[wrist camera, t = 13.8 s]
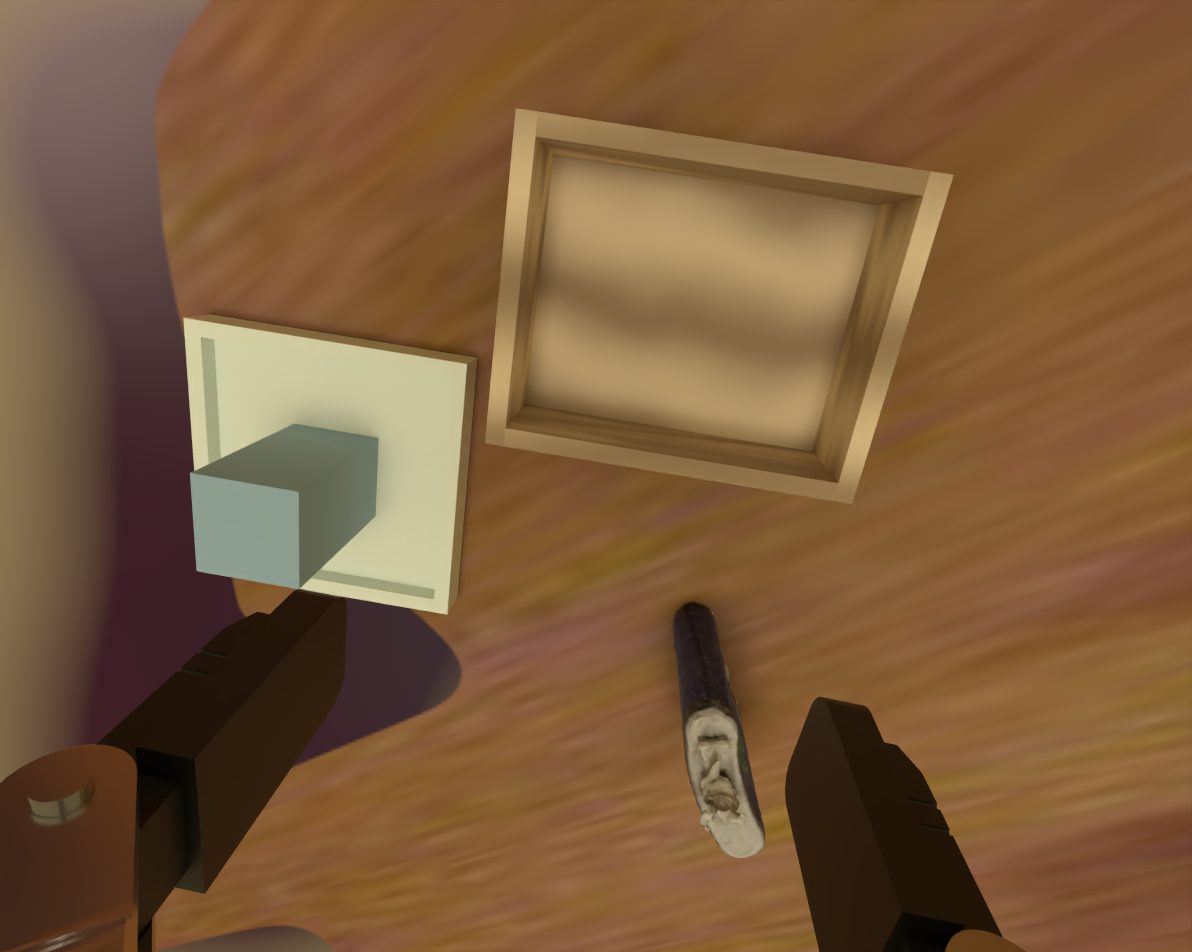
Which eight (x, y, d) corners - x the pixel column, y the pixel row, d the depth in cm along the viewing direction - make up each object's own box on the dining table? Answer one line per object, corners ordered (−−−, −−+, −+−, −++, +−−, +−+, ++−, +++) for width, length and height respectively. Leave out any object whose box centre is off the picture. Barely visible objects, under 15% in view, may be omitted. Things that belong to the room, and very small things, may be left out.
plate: (210, 314, 33) (183, 317, 31) (477, 357, 32) (466, 364, 30) (224, 556, 37) (201, 572, 35) (457, 596, 37) (447, 614, 35)
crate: (544, 139, 29) (515, 108, 23) (887, 192, 28) (953, 175, 22) (515, 408, 33) (484, 443, 27) (813, 457, 33) (851, 504, 26)
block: (294, 423, 33) (190, 472, 26) (378, 438, 33) (298, 491, 25) (295, 502, 35) (196, 570, 27) (375, 516, 34) (299, 589, 27)
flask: (745, 726, 38) (778, 894, 28) (697, 734, 39) (713, 902, 29) (711, 595, 36) (736, 729, 26) (661, 606, 36) (664, 741, 26)
